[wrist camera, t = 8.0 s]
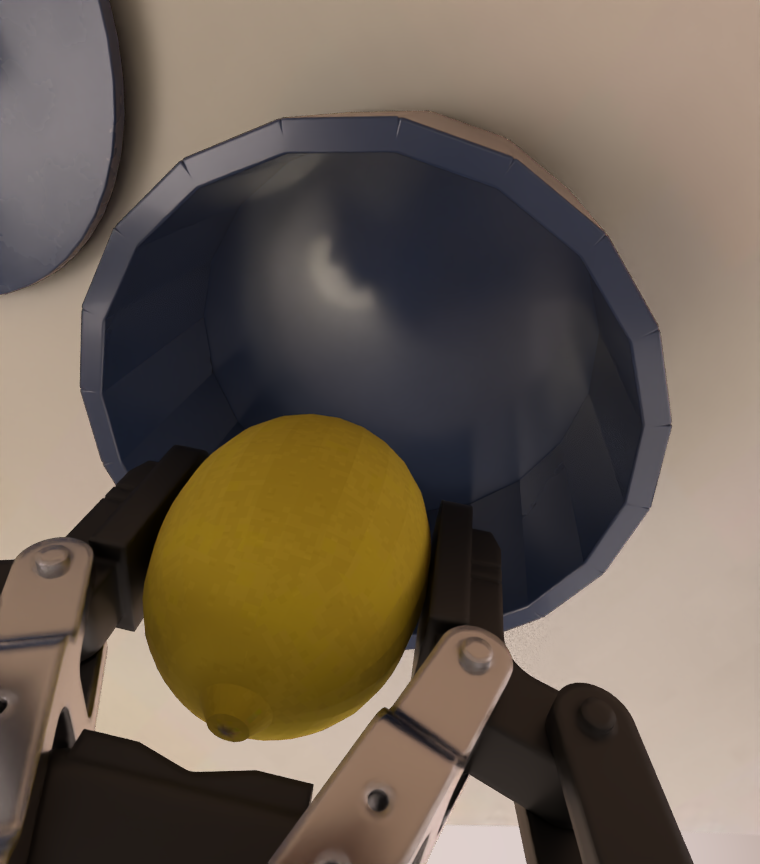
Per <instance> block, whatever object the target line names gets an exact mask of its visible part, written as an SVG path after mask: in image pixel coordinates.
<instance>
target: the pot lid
mask: <svg viewBox="0 0 760 864" xmlns="http://www.w3.org/2000/svg"><path fill="white" fill-rule="evenodd" d="M124 121H125V114H124V79H123V71H122V64H121V56H120V48H119V40H118V36H117V31H116V27H115V22H114V18H113V14H112V9H111V5H110V1H109V0H0V295H3V294H8V293H11V292H14V291H17V290H20V289H22V288H25V287H28V286H31V285H33V284H36V283H38V282H40V281H41V280H43V279H45V278H47V277H48V276H50V275H52V274H54V273H55V272H57V271H58V270H59V269H61V268H62V267H63V266H64V265H65V264H66V263H68V262H69V261H70V260H71V259H72V258H74V257H75V256H76V254H77V253H78V252H79V251H80V249H81V248H82V247H83V246H84V245H85V243H86V242H87V241H88V240H89V238H90V237H91V236H92V234H93V232H94V230H95V229H96V227H97V225H98V223H99V221H100V220H101V218H102V216H103V214H104V212H105V210H106V207H107V204H108V202H109V199H110V196H111V194H112V191H113V188H114V186H115V181H116V177H117V172H118V168H119V163H120V159H121V154H122V143H123V132H124Z"/></svg>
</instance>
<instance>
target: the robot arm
mask: <svg viewBox="0 0 760 864" xmlns="http://www.w3.org/2000/svg"><path fill="white" fill-rule="evenodd" d="M208 457H209V453H208V452H207V451H206V450H201V449H196V448H191V447H186V446H181V445H174V446H173V447H172V448H171V449H170V450H169V451H168V452H167V453H166V454H165V455H164V456H163V458H162V459H161V460H160V461H159V462H155V461H150V460H149V461H147V462H145V463H143V464H141V465H139V466H137V467H135V468H133V469H131V470H129V471H128V472H127V473H126V475H125V476H124V477H123V478H122V479H121V480H120V481H119V482H118V483H117V484H116V487H113V488H112V489H111V490H110V491H109V492H108V493H107V494H106V495H105V499H104V498H102V500H101V501H100V502H99V503H98V504H97V505H96V506H95V507H94V508H93V509H92V510H91V511H90V512H89V513H88V514H87V515H86V516H85V517H84V518H83V519H82V520H81V521H80V522H79V523H78V525H77V526H76V527H75V528H74V529H73V530H72V531H71V532H70V533H69V534H68V535H67V536H66V537H59V538H52V539H47V540H44V541H41V542H38V543H36V544H33V545H32V546H30V547H28V548H27V549H25V550H24V551H22V552H21V553H20V554H19V555H18V556H17V557H16V559H15V560H0V864H426V863H427V861H428V859H429V857H430V854H431V852H432V850H433V848H434V846H435V844H436V842H437V840H438V838H439V836H440V834H441V832H442V830H443V828H444V826H445V824H446V822H447V820H448V818H449V816H450V814H451V812H452V810H453V809H454V807H455V805H456V803H457V801H458V799H459V797H460V795H461V793H462V791H463V789H464V787H465V785H466V783H467V781H468V779H469V777H470V775H471V776H473V777H475V778H476V779H478V780H480V781H481V782H483V783H484V784H486V785H488V786H489V787H491V788H493V789H494V790H496V791H498V792H499V793H501V794H503V795H504V796H506V797H507V798H509V799H511V800H512V801H514V804H515V809H516V814H517V819H518V823H519V828H520V833H521V838H522V843H523V848H524V853H525V858H526V862H527V864H693V861H692V859H691V856H690V854H689V852H688V849H687V847H686V844H685V842H684V840H683V837H682V835H681V832H680V830H679V828H678V825H677V823H676V821H675V818H674V816H673V813H672V811H671V809H670V806H669V804H668V801H667V799H666V797H665V794H664V792H663V789H662V787H661V785H660V782H659V780H658V777H657V775H656V773H655V770H654V768H653V766H652V763H651V761H650V758H649V756H648V754H647V751H646V749H645V746H644V744H643V742H642V739H641V737H640V734H639V732H638V730H637V727H636V725H635V722H634V720H633V718H632V716H631V715H630V713H629V712H628V710H627V709H626V707H625V706H624V705H623V704H622V703H621V702H620V701H619V700H618V699H617V698H616V697H614V696H613V695H612V694H610V693H609V692H607V691H606V690H604V689H602V688H600V687H597V686H595V685H591V684H587V683H573V684H569V685H567V686H565V687H563V688H562V689H561V690H560V691H558V690H556V689H554V688H552V687H550V686H548V685H546V684H544V683H542V682H541V681H539V680H537V679H535V678H533V677H532V676H530V675H529V674H527V673H526V672H525V671H523V670H522V669H521V668H520V667H519V666H518V665H517V664H516V663H515V662H514V660H513V659H512V656H511V654H510V652H509V650H508V648H507V647H506V645H505V642H504V628H503V597H502V585H501V583H502V570H501V549H500V547H499V545H498V543H497V542H496V540H495V538H494V536H493V534H492V533H491V532H487V531H482V530H477V529H473V528H472V519H473V507H472V506H469V505H465V504H460V503H455V502H450V501H445V500H441V503H440V507H439V511H438V515H437V520H436V524H435V528H434V532H433V536H432V541H431V556H430V567H429V579H428V586H427V593H426V598H425V601H424V605H423V608H422V612H421V614H420V617H419V622H418V630H417V637H416V645H415V653H414V660H413V668H412V676H411V681H410V682H409V684H408V685H407V687H406V688H405V689H404V691H403V692H402V694H401V695H400V697H399V698H398V699H397V701H396V702H395V703H394V705H393V706H392V707H391V708H390V709H387V708H385V707H384V708H382V709H381V710H380V711H379V712H378V713H377V714H376V715H375V716H374V718H373V719H372V720H371V722H370V723H369V724H368V726H367V727H366V729H365V730H364V731H363V733H362V734H361V735H360V737H359V738H358V739H357V741H356V742H355V744H354V745H353V746H352V748H351V749H350V750H349V752H348V753H347V755H346V756H345V757H344V759H343V760H342V761H341V763H340V764H339V765H338V767H337V768H336V770H335V771H334V772H333V774H332V775H331V776H330V778H329V779H328V781H327V782H326V783H325V785H324V786H323V787H322V789H321V790H320V792H319V793H318V794H317V796H316V797H315V798H314V800H313V801H312V802H311V799H312V792H313V785H314V784H310V783H306V782H302V781H298V780H294V779H290V778H285V777H281V776H277V775H273V774H269V773H265V772H261V771H257V770H252V771H218V772H191V771H188V770H186V769H184V768H182V767H180V766H179V765H177V764H175V763H174V762H172V761H170V760H169V759H167V758H165V757H163V756H162V755H160V754H158V753H157V752H155V751H153V750H152V749H150V748H148V747H147V746H145V745H143V744H142V743H140V742H137V741H133V740H129V739H125V738H120V737H116V736H112V735H108V734H104V733H100V732H96V731H95V727H96V721H97V714H98V708H99V702H100V695H101V689H102V683H103V676H104V670H105V664H106V658H107V650H108V647H107V639H108V638H109V636H110V635H111V633H112V632H113V630H114V629H115V628H120V629H125V630H129V631H135V630H136V628H137V627H138V625H139V624H140V622H141V621H142V619H143V618H144V614H143V600H142V598H143V589H144V582H145V578H146V574H147V570H148V566H149V563H150V559H151V556H152V552H153V549H154V545H155V542H156V539H157V536H158V533H159V531H160V528H161V526H162V523H163V521H164V519H165V517H166V514H167V513H168V511H169V509H170V507H171V505H172V503H173V502H174V500H175V499H176V497H177V496H178V494H179V493H180V491H181V490H182V489H183V487H184V486H185V485H186V483H187V482H188V481H189V479H190V478H191V476H192V475H193V474H194V472H195V471H196V470H197V469H198V467H199V466H200V465H201V464H202V463H203V462H204V461H205V460H206V459H207V458H208Z"/></svg>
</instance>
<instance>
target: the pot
mask: <svg viewBox="0 0 760 864" xmlns="http://www.w3.org/2000/svg"><path fill="white" fill-rule="evenodd" d="M82 308H83V309H82V316H81V356H80V388H81V395H82V398H83V401H84V405H85V408H86V411H87V415H88V418H89V421H90V425H91V428H92V431H93V435H94V438H95V441H96V445H97V448H98V451H99V455H100V458H101V461H102V462H103V465H104V467H105V469H106V470H107V472H108V473H109V475H110V477H111V478H112V480H113V481H114V483H115V484H117V483H118V482H119V481H120V480H121V479H122V478H123V477H124V476H125V475H126V473H127V472H128V471H129V470H131V469H133V468H135V467H137V466H139V465H141V464H143V463H145V462H147V461H149V460H150V461H155V462H159V461H160V460H161V459H162V458H163V456H164V455H165V454H166V453H167V452H168V451H169V450H170V449H171V448H172V447H173V446H174V445H181V446H186V447H191V448H196V449H201V450H206V451H207V452H208V453H209V456H210V455H211V454H212V453H213V452H214V451H216V450H217V449H218V448H220V447H221V446H223V445H224V444H225V443H227V442H228V441H230V440H231V439H232V438H234V437H235V436H237V435H238V434H239V433H241V432H242V431H244V430H246V429H248V428H250V427H251V426H254V425H257V424H260V423H263V422H266V421H269V420H272V419H275V418H278V417H282V416H288V415H302V414H317V415H323V416H330V417H337V418H341V419H343V420H346V421H349V422H351V423H354V424H356V425H359V426H362V427H364V428H365V429H367V430H368V431H370V432H371V433H373V434H374V435H376V436H377V437H379V438H380V439H382V440H383V441H384V442H385V443H387V444H388V446H389V447H390V448H391V449H392V450H393V451H394V452H395V453H396V454H397V455H398V456H399V457H400V458H401V459H402V460H403V461H404V462H405V464H406V466H407V468H408V469H409V471H410V473H411V475H412V477H413V478H414V480H415V482H416V484H417V486H418V487H419V489H420V491H421V494H422V497H423V500H424V505H425V509H426V514H427V518H428V522H429V527H430V534H431V541H432V536H433V532H434V528H435V524H436V520H437V515H438V511H439V507H440V503H441V500H445V501H450V502H455V503H460V504H465V505H469V506H472V507H473V519H472V528H473V529H477V530H482V531H487V532H491V533H492V534H493V536H494V538H495V540H496V542H497V543H498V545H499V547H500V549H501V570H502V583H501V585H502V597H503V628H504V631H507V630H510V629H513V628H516V627H518V626H521V625H524V624H527V623H529V622H532V621H535V620H538V619H540V618H541V617H545V616H546V615H547V614H549V613H550V612H552V611H553V610H554V609H556V608H557V607H559V606H560V605H561V604H563V603H564V602H565V601H567V600H568V599H570V598H571V597H572V596H574V595H575V594H576V593H578V592H579V591H581V590H582V589H583V588H585V587H586V586H588V585H589V584H590V583H592V582H593V581H594V580H596V579H597V578H599V577H600V576H601V575H603V573H604V572H605V571H606V570H607V569H608V567H609V566H610V564H611V563H612V562H613V560H614V559H615V557H616V556H617V555H618V553H619V552H620V550H621V549H622V548H623V546H624V545H625V543H626V542H627V541H628V539H629V538H630V536H631V535H632V534H633V532H634V531H635V529H636V528H637V527H638V525H639V524H640V522H641V521H642V520H643V518H644V517H645V515H646V514H647V513H648V511H649V508H650V507H651V505H652V501H653V497H654V493H655V489H656V486H657V482H658V478H659V474H660V470H661V466H662V463H663V459H664V455H665V451H666V447H667V444H668V440H669V436H670V432H671V428H672V425H671V422H672V418H671V410H670V402H669V394H668V387H667V379H666V371H665V364H664V356H663V348H662V340H661V333H660V330H659V326H658V324H657V322H656V320H655V318H654V317H653V315H652V313H651V311H650V309H649V308H648V306H647V304H646V302H645V301H644V299H643V297H642V295H641V293H640V292H639V290H638V288H637V286H636V284H635V283H634V281H633V279H632V277H631V276H630V274H629V272H628V270H627V268H626V267H625V265H624V263H623V261H622V259H621V258H620V256H619V254H618V252H617V250H616V249H615V247H614V245H613V243H612V242H611V240H610V238H609V236H608V235H607V234H606V233H605V231H604V230H603V229H602V228H601V227H600V225H599V224H598V223H597V222H596V221H595V219H594V218H593V217H592V216H591V215H590V213H589V212H588V211H587V210H586V209H585V208H584V206H583V205H582V204H581V203H580V202H579V200H578V199H577V198H576V197H575V196H574V194H573V193H572V192H571V191H570V190H569V189H568V188H567V187H566V186H565V185H563V184H562V183H561V182H560V181H559V180H557V179H556V178H555V177H554V176H553V175H551V174H550V173H549V172H548V171H547V170H545V169H544V168H543V167H542V166H541V165H540V164H538V163H537V162H536V161H535V160H534V159H532V158H531V157H530V156H529V155H528V154H526V153H525V152H524V151H523V150H522V149H520V148H519V147H518V146H517V145H516V144H515V143H513V142H512V141H511V140H509V139H508V140H507V138H506V137H503V136H500V135H498V134H495V133H492V132H489V131H486V130H483V129H481V128H478V127H475V126H472V125H470V124H467V123H465V122H462V121H458V120H455V119H453V118H450V117H447V116H444V115H441V114H439V113H436V112H433V111H432V112H430V111H375V112H344V113H332V114H320V115H307V116H295V117H283V118H281V119H276V120H274V121H271V122H269V123H266V124H264V125H262V126H259V127H257V128H254V129H252V130H250V131H247V132H245V133H242V134H240V135H238V136H235V137H233V138H230V139H228V140H226V141H223V142H221V143H218V144H216V145H214V146H211V147H209V148H206V149H204V150H202V151H199V152H197V153H194V154H192V155H190V156H187V157H185V158H184V159H183V160H181V161H179V162H178V163H177V164H176V165H175V166H174V167H173V168H172V169H171V170H170V171H169V172H168V173H167V174H166V175H165V176H164V177H163V178H162V179H161V180H160V181H159V182H158V183H157V184H156V185H155V186H154V187H153V188H152V189H151V191H150V192H149V193H148V194H147V195H146V196H145V197H144V198H143V199H142V200H141V201H140V202H139V203H138V204H137V205H136V206H135V207H134V208H133V209H132V210H131V211H130V212H129V213H128V214H127V215H126V216H125V217H124V218H123V219H122V220H121V221H120V222H119V223H118V224H117V225H116V227H115V228H113V231H112V233H111V236H110V238H109V240H108V243H107V245H106V248H105V250H104V253H103V255H102V258H101V260H100V263H99V265H98V267H97V270H96V272H95V275H94V277H93V280H92V282H91V285H90V287H89V290H88V292H87V294H86V297H85V299H84V302H83V304H82ZM418 622H419V619H418ZM418 622H417V625H416V627H415V629H414V631H413V633H412V636H411V638H410V640H409V642H408V644H407V646H406V648H405V650H409V649H415V645H416V637H417V630H418Z"/></svg>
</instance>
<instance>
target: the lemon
mask: <svg viewBox="0 0 760 864" xmlns="http://www.w3.org/2000/svg"><path fill="white" fill-rule="evenodd" d="M430 556H431V534H430V527H429V522H428V518H427V514H426V509H425V505H424V500H423V497H422V494H421V491H420V489H419V487H418V486H417V484H416V482H415V480H414V478H413V477H412V475H411V473H410V471H409V469H408V468H407V466H406V464H405V462H404V461H403V460H402V459H401V458H400V457H399V456H398V455H397V454H396V453H395V452H394V451H393V450H392V449H391V448H390V447H389V446H388V444H387V443H385V442H384V441H383V440H382V439H380V438H379V437H377V436H376V435H374V434H373V433H371V432H370V431H368V430H367V429H365V428H364V427H362V426H359V425H356V424H354V423H351V422H349V421H346V420H343V419H341V418H337V417H330V416H323V415H317V414H302V415H288V416H282V417H278V418H275V419H272V420H269V421H266V422H263V423H260V424H257V425H254V426H251V427H250V428H248V429H246V430H244V431H242V432H241V433H239V434H238V435H237V436H235V437H234V438H232V439H231V440H230V441H228V442H227V443H225V444H224V445H223V446H221V447H220V448H218V449H217V450H216V451H214V452H213V453H212V454H211V455H210V456H209V457H208V458H207V459H206V460H205V461H204V462H203V463H202V464H201V465H200V466H199V467H198V469H197V470H196V471H195V472H194V474H193V475H192V476H191V478H190V479H189V481H188V482H187V483H186V485H185V486H184V487H183V489H182V490H181V491H180V493H179V494H178V496H177V497H176V499H175V500H174V502H173V503H172V505H171V507H170V509H169V511H168V513H167V514H166V517H165V519H164V521H163V523H162V526H161V528H160V531H159V533H158V536H157V539H156V542H155V545H154V549H153V552H152V556H151V559H150V563H149V566H148V570H147V574H146V578H145V582H144V589H143V598H142V600H143V614H144V625H145V636H146V639H147V642H148V646H149V649H150V652H151V654H152V657H153V659H154V661H155V664H156V666H157V669H158V671H159V672H160V674H161V676H162V678H163V680H164V681H165V683H166V684H167V685H168V687H169V688H170V690H171V691H172V692H173V694H174V695H175V696H176V697H177V698H178V700H179V701H180V702H181V703H182V704H183V705H184V706H185V707H186V708H187V709H189V710H190V711H191V712H192V713H193V714H194V715H195V716H197V717H198V718H200V719H201V720H203V721H204V722H206V723H207V726H208V728H209V730H210V731H211V732H212V733H213V734H214V735H216V736H217V737H219V738H221V739H224V740H227V741H232V742H240V741H244V740H245V739H247V738H248V739H255V740H263V741H265V740H285V739H293V738H298V737H302V736H306V735H310V734H313V733H316V732H319V731H322V730H324V729H326V728H328V727H330V726H332V725H334V724H336V723H338V722H340V721H342V720H344V719H345V718H347V717H349V716H351V715H352V714H354V713H355V712H357V711H358V710H359V709H360V708H361V707H362V706H363V705H364V704H365V703H366V702H368V701H369V700H370V699H371V698H372V697H373V696H374V695H375V694H376V693H377V692H378V691H379V690H380V689H381V688H382V687H383V685H384V684H385V683H386V681H387V680H388V679H389V677H390V676H391V675H392V673H393V671H394V670H395V668H396V666H397V665H398V663H399V661H400V659H401V657H402V655H403V653H404V651H405V648H406V646H407V644H408V642H409V640H410V638H411V636H412V633H413V631H414V629H415V627H416V625H417V622H418V619H419V617H420V614H421V612H422V608H423V605H424V601H425V598H426V593H427V586H428V579H429V567H430Z"/></svg>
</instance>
